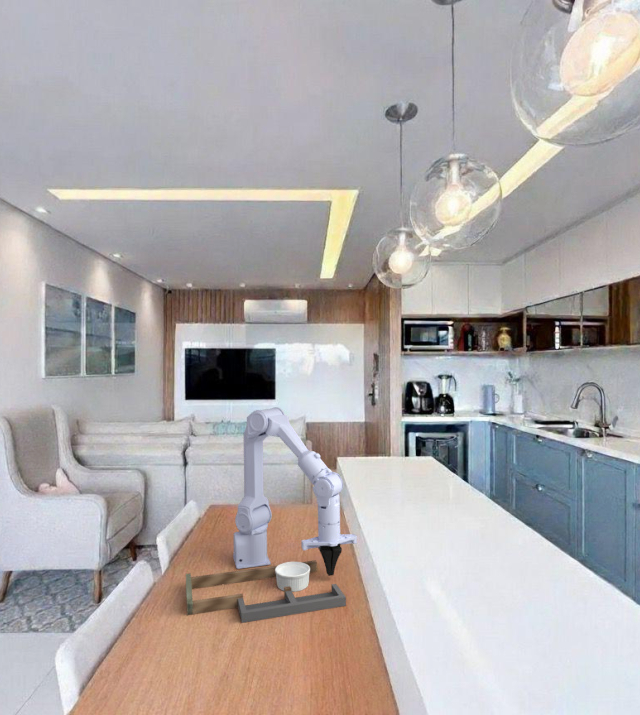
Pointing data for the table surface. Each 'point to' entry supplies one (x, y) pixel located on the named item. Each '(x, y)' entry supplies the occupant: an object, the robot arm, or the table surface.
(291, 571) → the ramekin
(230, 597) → the walnut channel
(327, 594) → the grey e-shaped block
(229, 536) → the table surface
